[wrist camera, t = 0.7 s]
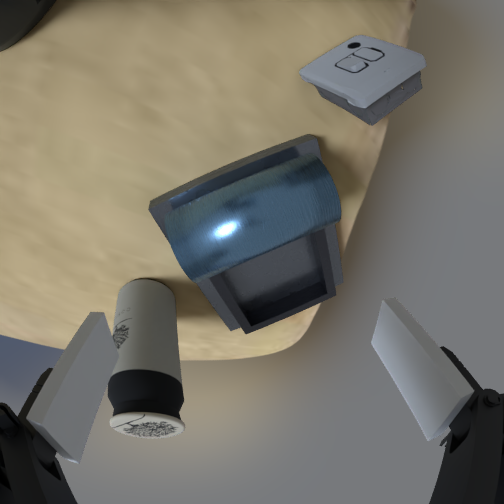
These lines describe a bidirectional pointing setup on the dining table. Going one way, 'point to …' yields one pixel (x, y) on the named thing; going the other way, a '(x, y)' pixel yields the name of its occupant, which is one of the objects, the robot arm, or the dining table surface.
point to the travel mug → (146, 362)
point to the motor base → (267, 265)
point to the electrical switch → (366, 76)
